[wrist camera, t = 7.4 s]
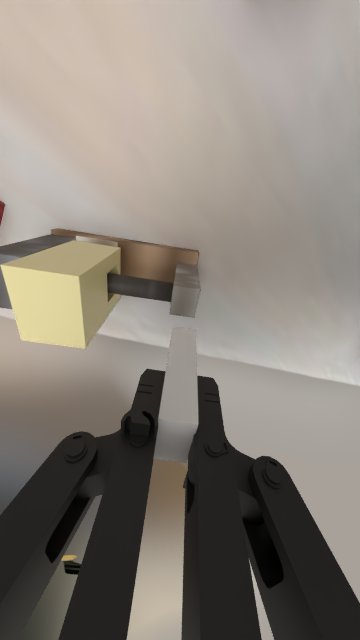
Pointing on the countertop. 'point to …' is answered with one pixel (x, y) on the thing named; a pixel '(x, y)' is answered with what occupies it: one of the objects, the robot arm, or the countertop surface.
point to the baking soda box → (1, 210)
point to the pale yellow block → (62, 292)
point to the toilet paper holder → (127, 268)
